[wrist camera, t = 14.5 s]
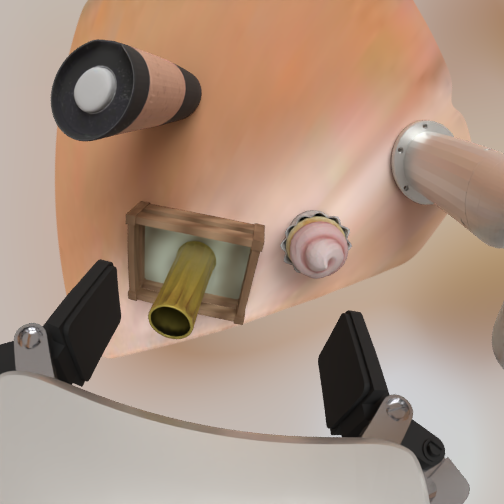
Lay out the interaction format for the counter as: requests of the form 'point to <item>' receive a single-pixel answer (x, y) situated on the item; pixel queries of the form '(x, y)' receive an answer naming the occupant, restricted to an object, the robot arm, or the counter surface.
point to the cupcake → (316, 244)
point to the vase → (183, 291)
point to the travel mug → (119, 91)
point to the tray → (185, 230)
